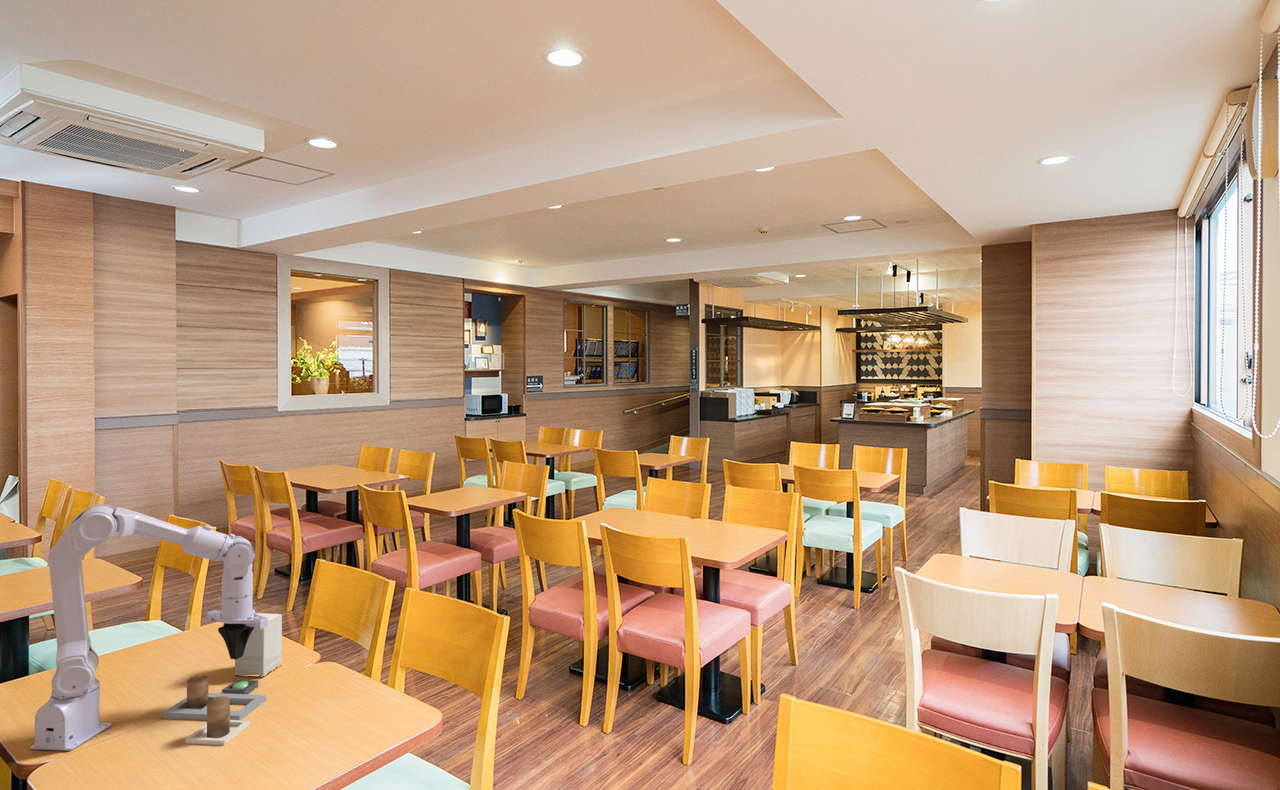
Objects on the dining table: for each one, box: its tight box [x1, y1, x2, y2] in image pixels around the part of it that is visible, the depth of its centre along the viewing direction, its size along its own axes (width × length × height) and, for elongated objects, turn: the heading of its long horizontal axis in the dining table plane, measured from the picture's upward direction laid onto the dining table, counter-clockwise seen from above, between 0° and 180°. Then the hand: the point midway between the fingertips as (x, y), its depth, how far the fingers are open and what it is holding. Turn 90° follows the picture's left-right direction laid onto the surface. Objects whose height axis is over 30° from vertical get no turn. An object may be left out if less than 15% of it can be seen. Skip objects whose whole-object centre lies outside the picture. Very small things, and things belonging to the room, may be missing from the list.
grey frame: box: [162, 692, 267, 721], centre depth 141 cm, size 9×16×2 cm, turn 88°
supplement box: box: [234, 612, 283, 676], centre depth 160 cm, size 7×7×13 cm
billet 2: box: [206, 696, 231, 738], centre depth 131 cm, size 4×4×6 cm
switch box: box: [221, 679, 259, 694], centre depth 149 cm, size 5×5×2 cm
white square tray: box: [184, 719, 251, 746], centre depth 131 cm, size 8×8×1 cm
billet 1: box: [186, 674, 209, 709], centre depth 141 cm, size 4×4×6 cm
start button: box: [233, 681, 248, 689], centre depth 149 cm, size 3×3×2 cm
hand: (236, 657), depth 145 cm, fingers closed
